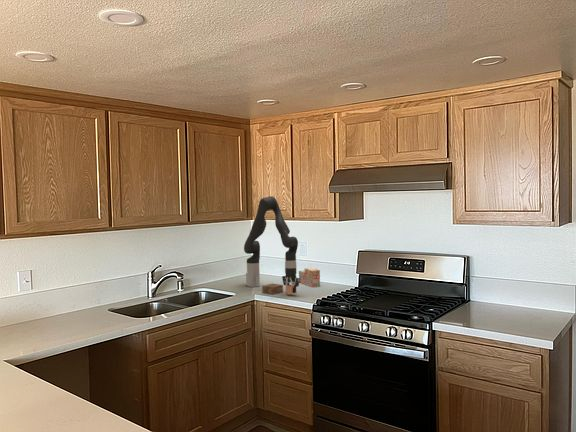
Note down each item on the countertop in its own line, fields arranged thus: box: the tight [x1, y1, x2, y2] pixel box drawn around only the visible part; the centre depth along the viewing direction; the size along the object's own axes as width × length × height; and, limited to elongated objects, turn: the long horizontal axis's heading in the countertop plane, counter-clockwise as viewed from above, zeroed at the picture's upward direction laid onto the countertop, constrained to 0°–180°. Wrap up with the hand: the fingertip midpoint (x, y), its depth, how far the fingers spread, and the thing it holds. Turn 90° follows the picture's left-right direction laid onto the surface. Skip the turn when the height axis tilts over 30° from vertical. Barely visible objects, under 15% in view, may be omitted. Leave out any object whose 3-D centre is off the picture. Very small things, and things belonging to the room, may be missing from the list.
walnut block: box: [261, 283, 284, 296], centre depth 332 cm, size 10×10×5 cm
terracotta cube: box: [285, 284, 295, 295], centre depth 322 cm, size 5×5×5 cm
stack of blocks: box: [298, 267, 321, 288], centre depth 359 cm, size 21×6×12 cm, turn 26°
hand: (291, 292), depth 323 cm, fingers closed on terracotta cube, 5 cm apart
